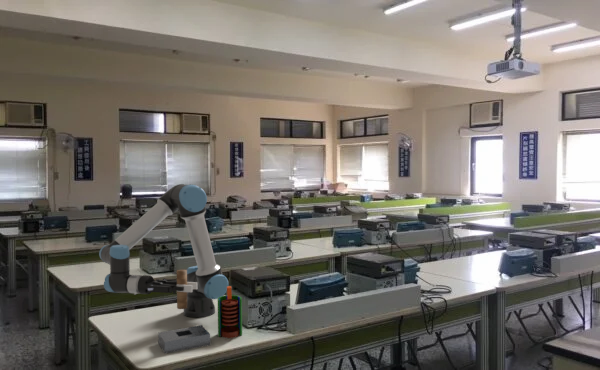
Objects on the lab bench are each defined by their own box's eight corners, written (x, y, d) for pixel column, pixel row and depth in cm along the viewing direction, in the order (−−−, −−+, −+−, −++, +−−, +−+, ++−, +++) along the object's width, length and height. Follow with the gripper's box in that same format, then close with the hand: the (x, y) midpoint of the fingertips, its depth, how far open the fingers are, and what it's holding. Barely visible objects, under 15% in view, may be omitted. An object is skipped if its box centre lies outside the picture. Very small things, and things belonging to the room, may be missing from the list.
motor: (220, 339, 200) (219, 291, 199) (215, 332, 208) (214, 286, 208) (244, 336, 204) (243, 289, 203) (238, 329, 212) (238, 284, 211)
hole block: (201, 335, 205) (201, 325, 204) (210, 345, 194) (210, 334, 194) (158, 343, 196) (158, 332, 196) (164, 353, 186) (164, 342, 186)
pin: (185, 305, 197) (185, 269, 196) (188, 308, 193) (187, 271, 193) (176, 307, 195) (175, 270, 195) (178, 309, 192) (177, 272, 191)
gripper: (152, 288, 206) (203, 291, 201) (130, 299, 190) (185, 302, 185) (152, 270, 206) (203, 273, 201) (129, 280, 189) (184, 283, 184)
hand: (194, 287), depth 193 cm, fingers closed on pin, 4 cm apart
